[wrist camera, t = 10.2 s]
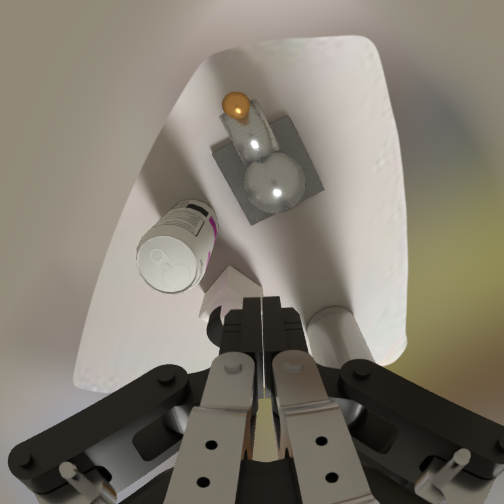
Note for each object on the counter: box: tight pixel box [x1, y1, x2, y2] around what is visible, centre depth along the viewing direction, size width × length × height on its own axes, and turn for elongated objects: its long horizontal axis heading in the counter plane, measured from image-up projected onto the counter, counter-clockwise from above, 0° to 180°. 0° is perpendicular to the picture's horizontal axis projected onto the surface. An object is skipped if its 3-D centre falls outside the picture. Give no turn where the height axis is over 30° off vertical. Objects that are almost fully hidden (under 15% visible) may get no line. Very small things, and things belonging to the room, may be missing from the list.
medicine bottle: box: [199, 266, 263, 347], centre depth 43 cm, size 7×7×12 cm
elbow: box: [220, 92, 306, 213], centre depth 31 cm, size 14×6×9 cm, turn 26°
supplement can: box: [136, 200, 219, 295], centre depth 37 cm, size 8×8×15 cm
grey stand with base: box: [212, 116, 324, 226], centre depth 38 cm, size 12×12×8 cm
